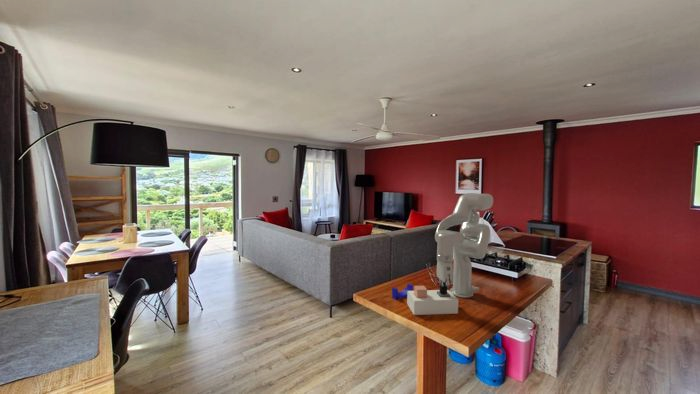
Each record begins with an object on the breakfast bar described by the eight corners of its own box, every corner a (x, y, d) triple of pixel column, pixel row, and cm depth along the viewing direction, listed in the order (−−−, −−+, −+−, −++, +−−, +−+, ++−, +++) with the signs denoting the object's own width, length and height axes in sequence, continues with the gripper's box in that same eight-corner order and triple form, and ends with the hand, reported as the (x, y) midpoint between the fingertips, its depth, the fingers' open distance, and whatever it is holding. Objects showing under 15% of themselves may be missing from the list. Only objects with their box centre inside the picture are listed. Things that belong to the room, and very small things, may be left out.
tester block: (447, 302, 152) (448, 289, 151) (457, 313, 140) (458, 299, 140) (407, 303, 150) (407, 290, 150) (414, 314, 138) (414, 300, 138)
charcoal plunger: (445, 303, 148) (446, 291, 148) (450, 307, 143) (450, 295, 143) (436, 303, 148) (436, 291, 147) (440, 308, 143) (440, 295, 142)
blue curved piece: (407, 292, 165) (407, 282, 164) (412, 295, 161) (412, 285, 160) (390, 296, 159) (390, 286, 159) (395, 300, 155) (395, 289, 155)
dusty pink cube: (423, 297, 147) (423, 285, 147) (426, 302, 142) (427, 289, 142) (413, 298, 147) (414, 285, 146) (417, 302, 142) (417, 289, 141)
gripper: (458, 262, 136) (457, 299, 138) (445, 253, 151) (444, 287, 153) (443, 262, 136) (441, 299, 137) (431, 253, 151) (430, 287, 152)
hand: (443, 293), depth 145 cm, fingers closed
